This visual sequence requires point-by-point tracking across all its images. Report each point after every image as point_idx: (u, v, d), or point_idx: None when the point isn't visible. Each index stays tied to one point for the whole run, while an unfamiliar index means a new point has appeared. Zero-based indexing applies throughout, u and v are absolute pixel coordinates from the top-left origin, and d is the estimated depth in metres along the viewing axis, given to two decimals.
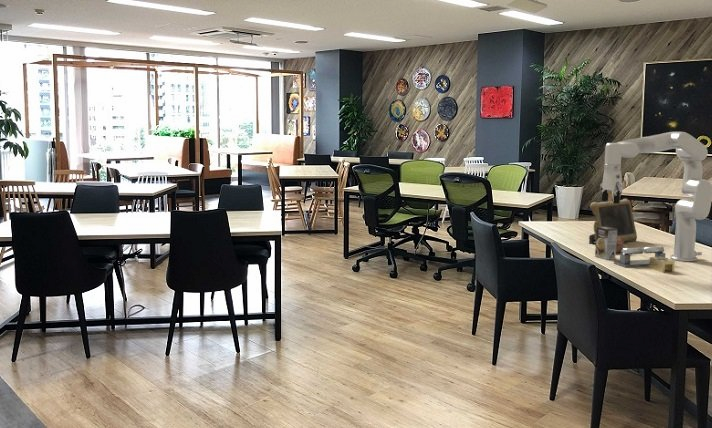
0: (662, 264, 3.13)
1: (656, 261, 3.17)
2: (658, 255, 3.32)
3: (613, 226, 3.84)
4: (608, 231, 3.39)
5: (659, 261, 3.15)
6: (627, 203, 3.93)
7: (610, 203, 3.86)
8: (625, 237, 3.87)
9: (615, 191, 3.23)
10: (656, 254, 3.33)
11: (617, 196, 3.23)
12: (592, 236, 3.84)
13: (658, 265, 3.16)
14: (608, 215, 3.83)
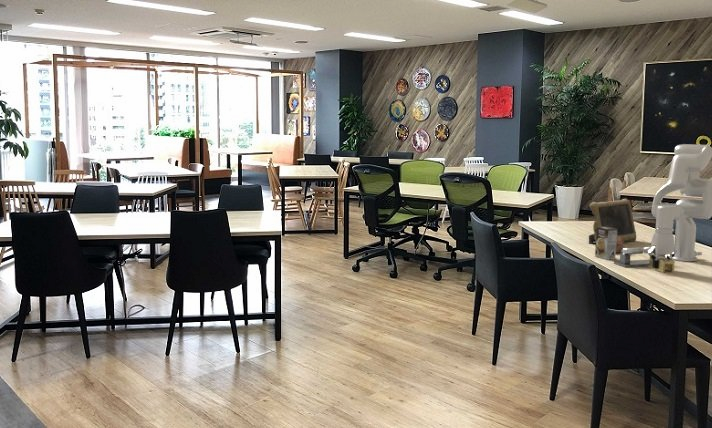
0: (662, 264, 3.13)
1: None
2: None
3: (613, 226, 3.84)
4: (608, 231, 3.39)
5: (659, 261, 3.15)
6: (627, 203, 3.94)
7: (610, 203, 3.86)
8: (625, 237, 3.87)
9: None
10: None
11: None
12: (592, 236, 3.85)
13: (658, 265, 3.16)
14: (608, 215, 3.84)
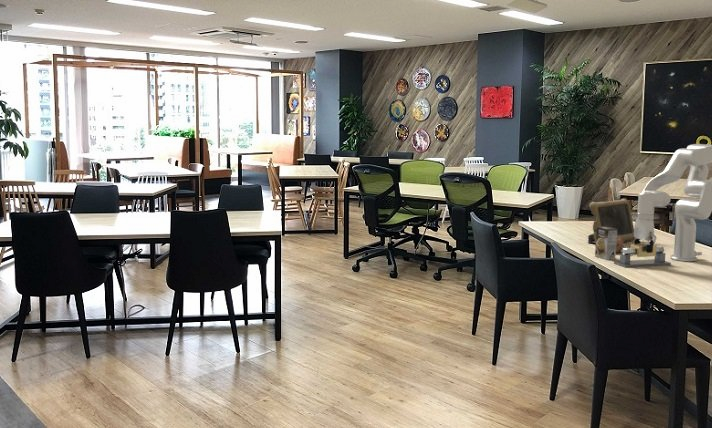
0: (655, 248, 3.28)
1: None
2: (658, 255, 3.32)
3: (612, 226, 3.85)
4: (608, 231, 3.39)
5: None
6: (626, 203, 3.94)
7: (609, 203, 3.87)
8: (624, 237, 3.88)
9: None
10: (656, 254, 3.33)
11: None
12: (591, 236, 3.85)
13: None
14: (607, 215, 3.84)
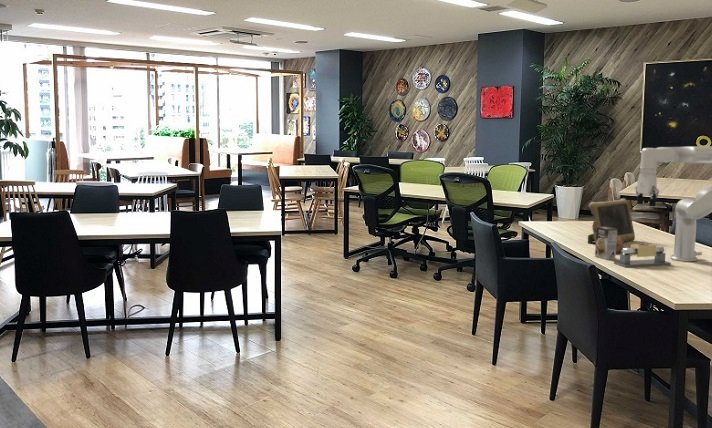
0: (655, 248, 3.28)
1: (647, 247, 3.27)
2: (658, 255, 3.32)
3: (612, 226, 3.85)
4: (608, 231, 3.39)
5: (651, 246, 3.27)
6: (625, 203, 3.95)
7: (608, 203, 3.87)
8: (624, 237, 3.88)
9: None
10: (656, 254, 3.33)
11: None
12: (591, 236, 3.85)
13: (650, 250, 3.27)
14: (607, 215, 3.84)
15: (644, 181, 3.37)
